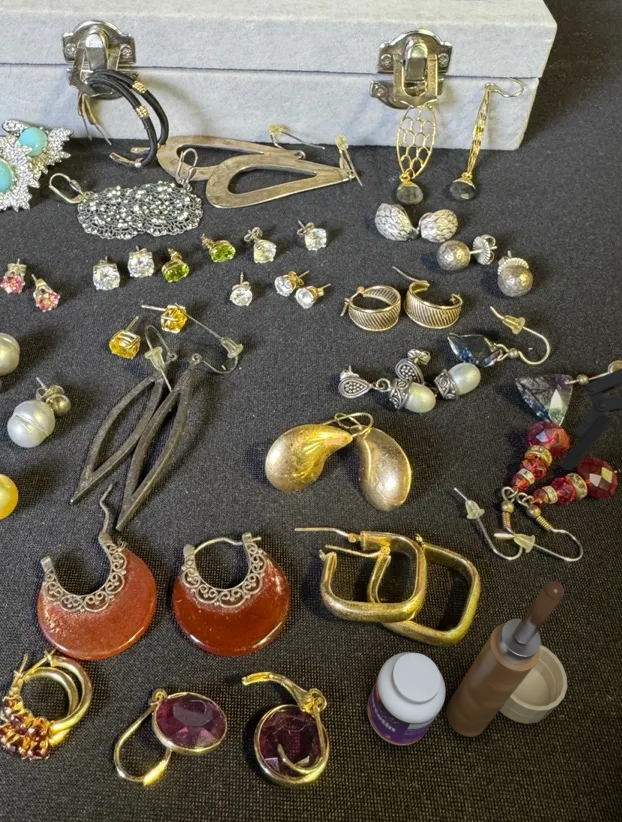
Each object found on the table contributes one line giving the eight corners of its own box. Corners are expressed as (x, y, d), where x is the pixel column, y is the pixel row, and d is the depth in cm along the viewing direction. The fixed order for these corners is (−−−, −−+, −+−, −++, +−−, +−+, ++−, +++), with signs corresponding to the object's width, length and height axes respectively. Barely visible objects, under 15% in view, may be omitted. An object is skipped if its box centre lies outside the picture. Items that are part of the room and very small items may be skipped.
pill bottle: (356, 693, 106) (370, 652, 95) (412, 674, 108) (432, 632, 97) (381, 757, 101) (399, 722, 90) (439, 736, 102) (463, 699, 92)
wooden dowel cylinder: (492, 707, 105) (546, 637, 87) (479, 744, 102) (531, 680, 84) (454, 686, 107) (499, 613, 88) (440, 723, 104) (483, 655, 85)
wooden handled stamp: (538, 639, 87) (583, 579, 75) (527, 672, 84) (572, 615, 73) (502, 621, 88) (541, 559, 77) (490, 652, 86) (529, 594, 74)
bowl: (560, 678, 107) (574, 661, 103) (542, 738, 102) (556, 723, 98) (498, 645, 110) (509, 628, 106) (477, 702, 105) (488, 687, 101)
